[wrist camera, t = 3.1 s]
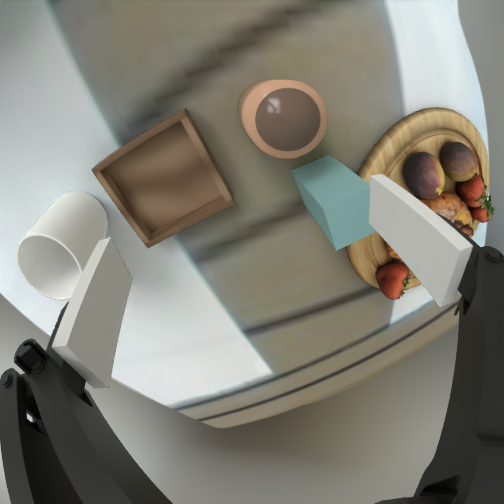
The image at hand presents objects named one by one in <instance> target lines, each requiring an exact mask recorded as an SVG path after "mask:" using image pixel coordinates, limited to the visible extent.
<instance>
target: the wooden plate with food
mask: <svg viewBox="0 0 504 504" xmlns="http://www.w3.org/2000/svg"><path fill="white" fill-rule="evenodd" d="M379 174H383V175H385V176H386V177H388V178H389V179H391V180H392V181H393V182H395V183H396V184H398V185H399V186H401V187H402V188H403V189H405V190H406V191H407V192H409V193H410V194H411V195H413V196H414V197H415V198H417V199H418V200H419V201H421V202H422V203H423V204H425V205H426V206H427V207H428V208H430V209H431V210H432V211H433V212H435V213H438V214H440V215H442V216H444V217H446V218H448V219H449V220H450V221H451V222H453V223H454V225H456V226H457V227H458V228H460V230H462V231H463V232H464V233H465V234H467V235H468V236H469V237H470V238H472V236H473V234H474V232H475V231H476V229H477V227H478V224H479V222H482V223H485V222H488V221H489V220H491V218H492V215H493V211H494V210H495V208H492V207H491V203H490V201H491V195H490V197H489V196H488V191H489V182H490V172H489V161H488V156H487V151H486V148H485V145H484V142H483V140H482V138H481V136H480V134H479V132H478V131H477V129H476V128H475V127H474V125H473V124H472V123H471V122H470V121H469V120H468V119H466V118H465V117H464V116H462V115H461V114H459V113H457V112H455V111H453V110H450V109H446V108H427V109H422V110H419V111H416V112H414V113H412V114H410V115H408V116H406V117H404V118H403V119H401V120H400V121H398V122H397V123H396V124H394V125H393V126H392V127H391V128H390V129H389V130H388V131H387V132H386V133H385V134H384V135H383V136H382V137H381V138H380V139H379V140H378V142H377V143H376V144H375V145H374V147H373V148H372V150H371V151H370V153H369V154H368V155H367V157H366V159H365V161H364V162H363V164H362V166H361V167H360V170H359V172H358V174H357V175H358V176H359V177H360V178H362V179H363V180H364V181H366V182H367V183H368V184H369V185H370V176H372V175H379ZM487 197H489V201H487ZM346 248H347V253H348V256H349V259H350V262H351V264H352V266H353V268H354V269H355V271H356V272H357V274H358V275H359V276H360V277H361V278H362V279H363V280H364V281H366V282H367V283H368V284H370V285H372V286H374V287H376V288H379V289H380V290H381V291H382V293H383V294H384V295H385V296H386V297H387V298H389V299H392V300H395V299H400V296H402V295H403V294H405V293H404V292H403V291H404V290H408V289H410V288H413V287H416V286H418V285H421V284H422V283H421V282H420V281H419V279H418V278H417V277H416V276H415V274H414V273H413V272H412V271H411V270H410V268H409V267H408V266H407V265H406V264H405V262H404V261H403V260H402V259H401V258H400V257H399V255H398V254H397V253H396V252H395V251H394V250H393V249H392V248H391V246H390V245H389V244H388V243H387V242H386V241H385V240H384V239H383V237H382V236H381V235H380V234H379V233H378V232H375V233H373V234H371V235H369V236H366V237H364V238H362V239H360V240H358V241H356V242H354V243H352V244H350V245H348V246H346Z"/></svg>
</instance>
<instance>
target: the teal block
mask: <svg viewBox="0 0 504 504" xmlns="http://www.w3.org/2000/svg"><path fill="white" fill-rule="evenodd" d="M291 172H292V174H293V177H294V179H295V182H296V184H297V187H298V189H299V192H300V194H301V197H302V200H303V202H304V205H305V206H306V208H307V209H308V211H309V212H310V213H311V215H312V216H313V218H314V219H315V220H316V222H317V223H318V225H319V226H320V228H321V229H322V231H323V232H324V233H325V235H326V236H327V238H328V239H329V241H330V242H331V244H332V245H333V247H334V248H335V250H336V251H337V250H339V249H341V248H343V247H346V246H348V245H350V244H352V243H354V242H356V241H358V240H360V239H362V238H364V237H366V236H369V235H371V234H373V233H375V232H377V231H376V230H375V229H374V228H373V227H372V226H371V225H370V223H369V206H370V185H369V184H368V183H367V182H366V181H364V180H363V179H362V178H360V177H359V176H358V175H356V174H355V173H354V172H352V171H351V170H350V169H348V168H347V167H346V166H344V165H343V164H342V163H340V162H339V161H337V160H336V159H335V158H333V157H332V156H330V155H327V156H324V157H322V158H319V159H317V160H315V161H312V162H310V163H308V164H305V165H303V166H301V167H298V168H296V169H294V170H291Z"/></svg>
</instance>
